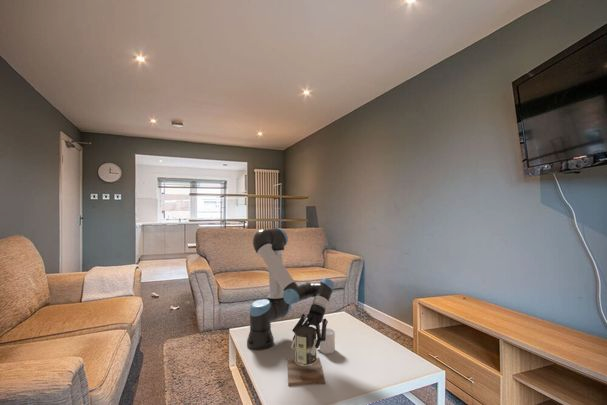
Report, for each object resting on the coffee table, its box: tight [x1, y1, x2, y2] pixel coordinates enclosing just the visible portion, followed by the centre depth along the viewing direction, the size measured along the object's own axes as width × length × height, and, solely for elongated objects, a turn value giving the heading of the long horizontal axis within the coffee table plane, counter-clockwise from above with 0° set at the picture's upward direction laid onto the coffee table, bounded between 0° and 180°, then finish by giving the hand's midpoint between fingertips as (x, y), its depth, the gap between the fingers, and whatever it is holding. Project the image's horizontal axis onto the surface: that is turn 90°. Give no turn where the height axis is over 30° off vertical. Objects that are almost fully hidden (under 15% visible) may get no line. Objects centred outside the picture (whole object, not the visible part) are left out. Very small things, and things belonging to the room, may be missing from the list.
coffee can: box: [294, 325, 318, 366], centre depth 137 cm, size 10×10×14 cm
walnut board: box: [286, 357, 326, 386], centre depth 137 cm, size 20×16×1 cm
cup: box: [316, 327, 336, 355], centre depth 159 cm, size 8×12×10 cm
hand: (302, 351), depth 134 cm, fingers closed on coffee can, 10 cm apart
